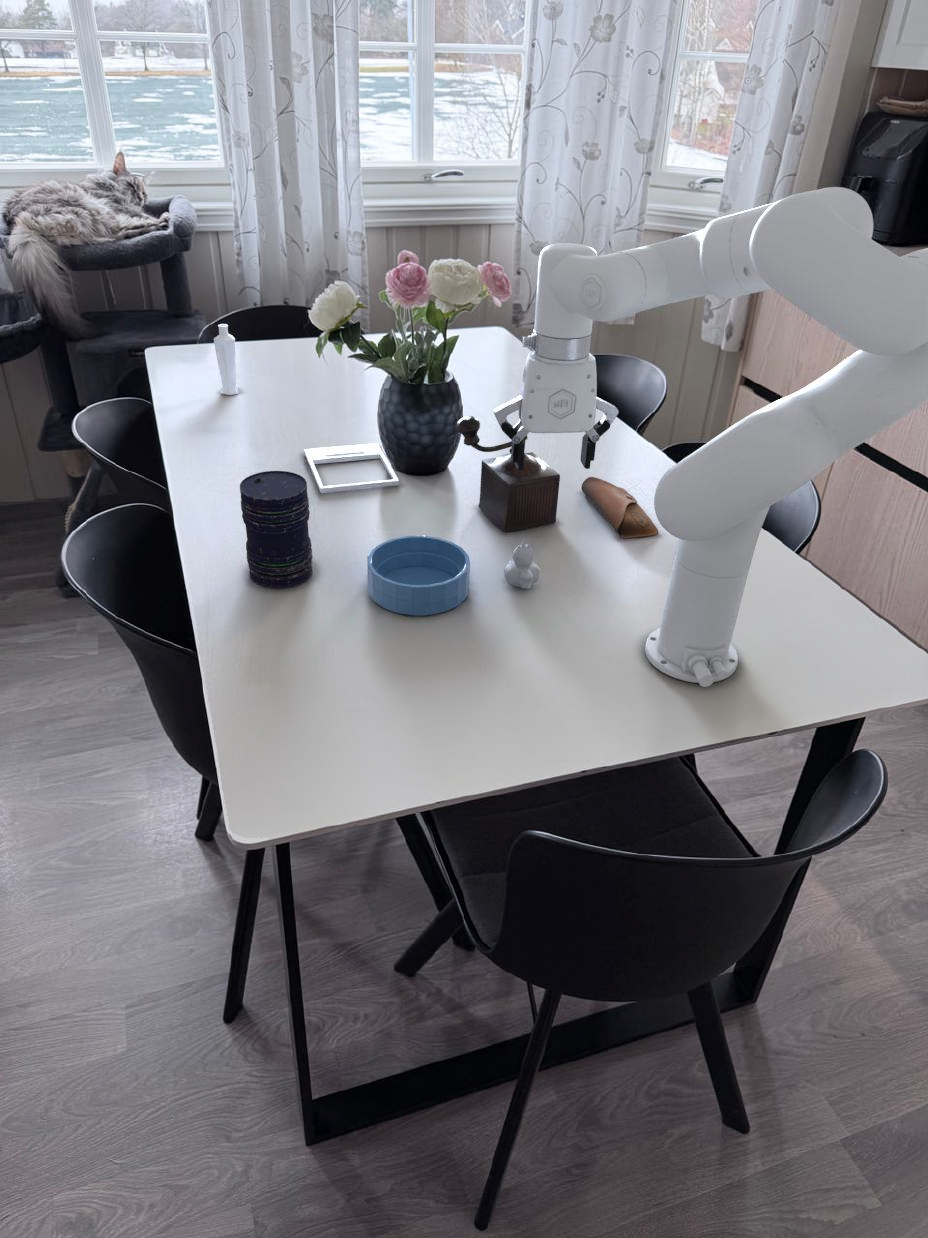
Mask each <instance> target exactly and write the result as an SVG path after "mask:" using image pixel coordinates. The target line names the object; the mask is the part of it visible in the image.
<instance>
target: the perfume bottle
mask: <svg viewBox="0 0 928 1238" xmlns="http://www.w3.org/2000/svg"><path fill="white" fill-rule="evenodd" d="M217 327H218V335H217V336H215V337H213V344H214V350H215V354H216V359H217V365H218V370H219V377H220V381H221V391H220V393H221V394H223V395H227V396H233V395H236V394H237V395H238V394H239V393H240V391H239V388H238V385H237V364H236V363H237V360H236V338H235V337H234V336H233V335H232V334H230V333H229V330H228V329H229V325H228V324H227V323H220V324H218V325H217Z"/></svg>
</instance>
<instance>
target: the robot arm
mask: <svg viewBox="0 0 928 1238" xmlns="http://www.w3.org/2000/svg"><path fill="white" fill-rule="evenodd" d="M873 233H874V217H873V213H872V210H871V207H870V206H869V203H868V202H867V201H866V199H865V198H864V197H863V196H861V194H859V193H858V192H856V191H854V190H852V189H850V188H847V187H843V186H841V187H840V186H830V187H823V188H818V189H814V190H808V191H804V192H799V193H795V194H792V195H787V196H786V197H784V198H781V199H779V200H777V201H774V202H771V203H767V204H764V205H760V206H757V207H754V208H751V209H747V210H742V211H739V212H736V213H732V214H729V215H726V216H721V217H718V218H714V219H712V220H711V221H709V222H708V223H707V224H706V226H705V228H702V229H700V230H697V231H695V232H690V233H686V234H684V235H681V236H676V237H673V238H669V239H667V240H661V241H659V242H655V243H651V244H648V245H642V246H639V247H634V248H630V249H624V250H620V251H617V252H612V253H607V254H602V255H598V253H597V251H596V249H594V248H593V247H592V246H588V245H586V244H580V243H573V242H572V243H569V242H559V243H552V244H549V245H547V246H545V247H544V248H543V249H542V250H541V251H540V253H539V255H538V256H539V258H538V263H537V279H536V295H535V296H536V297H535V312H534V326H533V327H534V328H533V329H532V332H531V335H527V336H522V348H528V349H531V351H530V352H528V354H527V357H526V361H525V365H524V367H523V368H524V369H523V374H522V380H521V386H520V393H519V396H517V397H516V398H513V399H511V400H509V401H507V402H506V403H503V404H501V405H499V406H497V407H496V408H494V409H493V414H494V417H495V419H496V421H497V423H498V425H499V427H500V429H501V431H502V432H503V433H504V434H505V435H506V436H507V437H508V438H509V439H510V441H512V447H511V448H512V449H511V461H512V463H515V465H516V467H517V470H518V471H520V470H522V469H523V462H524V453H525V451H524V443H523V439H524V438H525V436H526V435H527V436H528V434H529V433H531V434H571V433H573V434H574V433H576V434H577V433H584V434H583V436H582V439H581V448H580V449H581V450H580V462H581V464H582V467H583V468H584V469H586V470H589V469H591V462H593V461H595V455H596V447H597V442H599V441H600V440H601V439H600V438H601V437H602V436H603V435H604V434H605V433H606V432H608V430H610V428H611V425H612V424H613V423H614V421H615V420H616V418H617V417H618V415H619V413H620V411H619V409H618V407H616V406H615V405H614V404H612V403H610V402H608V401H606V400H604V399H602V398H600V397H598V396H597V395H598V394H597V392H598V391H597V390H598V381H597V380H598V379H597V376H598V374H597V361H596V357H595V356H594V355H593V354H592V353H591V352H590V351H591V343H592V333H593V331H592V330H593V321H595V322H599V323H608V322H613V321H617V320H620V319H624V318H626V317H629V316H631V315H634V314H637V313H640V312H644V311H647V310H650V309H655V308H658V307H662V306H665V305H670V304H674V303H678V302H683V301H688V300H691V299H697V298H701V297H702V298H703V297H706V296H715V297H716V298H718V299H719V300H729V299H730V300H731V299H732V298H733V299H734V298H738V297H742V296H747V295H751V294H756V293H760V292H765V291H770V290H773V291H774V292H776V293H777V294H779V295H780V296H781V297H782V298H783V299H785V300H786V301H788V302H789V303H790V304H792V305H793V306H794V307H796V308H798V309H799V310H800V311H802V312H803V313H805V314H806V315H807V316H809V317H810V318H812V319H813V320H815V321H816V322H817V323H819V324H820V325H822V326H823V327H824V328H826V329H827V330H829V331H831V332H832V333H834V334H835V335H836V336H838V337H840V339H842V340H844V341H845V342H846V343H848V344H849V345H851V346H853V347H855V348H857V349H858V350H857V351H856V352H854V353H853V354H851V355H850V356H848V357H847V358H846V359H844V360H842V361H841V362H839V363H838V364H837V365H836V366H835V367H833V368H832V369H831V370H829V371H827V372H826V373H824V374H823V375H821V376H820V377H818V378H817V379H815V380H813V381H812V382H811V383H809V384H807V385H805V386H804V387H802V388H801V389H799V390H797V391H795V392H793V393H791V394H789V395H787V396H784V397H781V398H780V399H777V400H775V401H773V402H771V403H769V404H767V405H765V406H763V407H761V408H760V409H757V410H756V411H753V412H752V413H750V414H748V415H747V416H745V417H743V418H742V419H740V420H739V421H737V422H735V423H734V424H733V425H731V426H729V427H728V428H727V429H725V430H724V431H722V432H721V433H719V434H718V435H716V436H715V437H714V438H712V439H710V440H709V441H708V442H706V443H705V444H703V445H702V446H701V447H699V448H698V449H696V450H694V451H693V452H692V453H689V455H687V456H685V457H684V458H683V459H682V460H680V461H679V462H677V463H675V464H674V465H672V466H671V467H670V468H669V469H668V470H667V471H666V472H664V474H663V475H662V476H661V478H660V480H659V481H658V483H657V485H656V488H655V492H654V497H653V507H654V513H655V516H656V518H657V521H658V522H659V524H660V525H661V527H662V528H663V529H664V530H665V531H666V532H667V533H669V534H670V535H671V536H673V537H675V538H677V543H676V548H675V552H674V557H673V562H672V567H671V572H670V577H669V583H668V587H667V593H666V597H665V603H664V608H663V613H662V619H661V623H660V627H658V628H657V629H655V630H653V631H652V632H651V633H650V634H649V635H648V636H647V638H646V642H645V646H644V652H645V656H646V658H647V660H648V661H649V662H650V664H652V665H653V667H654V668H656V669H658V670H659V671H660V672H661V673H663V674H665V675H666V676H669V677H671V678H674V679H677V680H680V681H683V682H689V683H697V684H699V686H700V687H702V688H707V687H710V686H712V685H713V683H717V682H720V681H723V680H725V679H727V678H729V677H730V676H732V675H733V674H734V673H735V671H736V670H737V667H738V663H739V654H738V651H737V649H736V647H735V646H734V644H732V643H731V642H732V639H733V634H734V632H735V631H734V630H735V627H736V623H737V619H738V615H739V611H740V608H741V604H742V599H743V596H744V593H745V587H746V585H747V580H748V575H749V572H750V569H751V564H752V560H753V557H754V553H755V550H756V546H757V542H758V540H759V537H760V535H761V534H760V533H761V531H762V527H763V525H764V523H765V520H766V517H767V515H768V514H769V511H770V507H771V506H773V505H774V504H776V503H778V502H779V501H781V500H783V499H784V498H786V497H788V496H790V495H791V494H793V493H794V492H796V491H797V490H799V489H800V488H802V487H803V486H805V485H806V484H807V483H809V482H810V481H812V480H814V478H816V477H817V476H818V475H820V474H821V473H823V472H824V471H826V469H827V468H828V467H830V466H831V465H832V464H833V463H834V462H836V461H837V460H838V459H839V458H841V457H842V456H844V455H845V454H847V453H848V452H850V451H852V450H853V449H855V448H856V447H859V446H860V445H862V444H863V443H865V442H867V441H869V440H870V439H872V438H874V437H875V436H877V435H878V434H880V433H882V432H883V431H885V430H886V429H887V428H889V427H891V426H892V425H894V424H895V423H897V422H899V421H901V420H902V419H904V418H905V417H907V416H909V415H910V414H911V413H913V412H915V411H916V410H917V409H920V408H921V407H922V406H923V405H924V404H925V403H927V402H928V247H926V248H922V249H917V250H915V251H911V252H909V253H905V254H903V255H900V256H899V255H898V254H896V253H894V252H892V251H891V250H890V249H888V248H886V247H885V246H883V245H881V244H880V243H878V242H877V241H875V240H873V239H872V238H873ZM597 410H599V411H601V412H603V413H604V414H603V416H602V418H601V419H599V420H598V421H597V422H596V416H597ZM517 411H518V418H519V420H518V421H517V423H516V424H515V425H512V424H511V423H510V422H509V421H508V419H507V417H508V416H509V415H511V414H513V413H515V412H517Z"/></svg>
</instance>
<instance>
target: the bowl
mask: <svg viewBox="0 0 928 1238" xmlns="http://www.w3.org/2000/svg"><path fill="white" fill-rule="evenodd" d="M366 565H367V568H366V569H367V592H368V595H369V596H370V598H371V599H372V601H373V602H374V603H376V604H377V605H379V606H380V607H381V608H383V609H385V610H387V611H390V612H394V613H395V614H396V613H397V614H402V615H407V616H431V615H436V614H437V615H438V614H441V613H445V612H448V611H450V610H452V609H454V608H457V607H458V606H460V604H462V603H463V602H464V601H465V600H466V598H467V596H468V594H469V591H470V574H471V573H470V572H471V562H470V556H469V555H468V553H467V552H466V551H465V549H463V548H462V547H461V546H459V545H458V544H456V543H454V542H453V541H450V540H447V539H443V538H441V537H437V536H429V535H405V536H404V535H403V536H400V537H399V536H397V537H393V538H390V539H388V540H385V541H383V542H381V543H379V544H378V545H376V546H375V547H374V548H373V547H372V549H371V550H370V552H369V554H368V555H367V564H366Z"/></svg>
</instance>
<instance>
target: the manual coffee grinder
mask: <svg viewBox="0 0 928 1238" xmlns="http://www.w3.org/2000/svg"><path fill="white" fill-rule="evenodd" d="M456 426H457V431H458V432H459V433H460V435H462V437H463V438H464V439H463V444H464V445H465V446H468V447H469V446H471V447H472V448H473V449H475V450H476V451H479V452H483V453H493V452H498V451H501V450H502V451H503V450H505V449H509V453H505V454H501V455H500V456H498V457H492V458H487V459H482V460H481V471H480V485H479V487H480V489H479V503H478V505H477V506H478V509H479V510H480V511H481V513H482V514H483V516H485V517H486V519H488V520H489V521H490V522H491V523H492V524H493V525H494V526H495V527H497V528H498V529H499V530H500V531H502V532H504V533H515V532H520V531H524V530H530V529H534V528H535V529H536V528H540V527H543V526H547V525H551V524H555V523H556V522H557V512H558V511H557V510H558V500H559V490H560V481H561V475H560V473H558V472H557V470H555V469H554V468H553V467H552V466H550V465H549V464H548V463H546V462H545V461H544V460H543V459H542V458H540V457H539V456H538V455H537V454H535V453H534V452H532V451H530V452H525V451H526V450H525V448H526V441H528V438H529V437H528V434H527V435H526V436H525V438H524V439H523V443H524V462H523V469H522V470H520V471H518V470H517V467H516V465H515V463H512V461H511V449H512V440H510V441H508V442H505V443H502V444H501V443H500V444H498V445H493V446H484V445H483V446H482V445H480V444H479V443H480V441H481V439H480V436H479V435H478V432H479V430H480V428H481V422H480V420H479V419H478V418H477V417H476V416H473V415H465V416H463V417H462V418H460V419H459V420H458V421H457V424H456Z"/></svg>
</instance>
